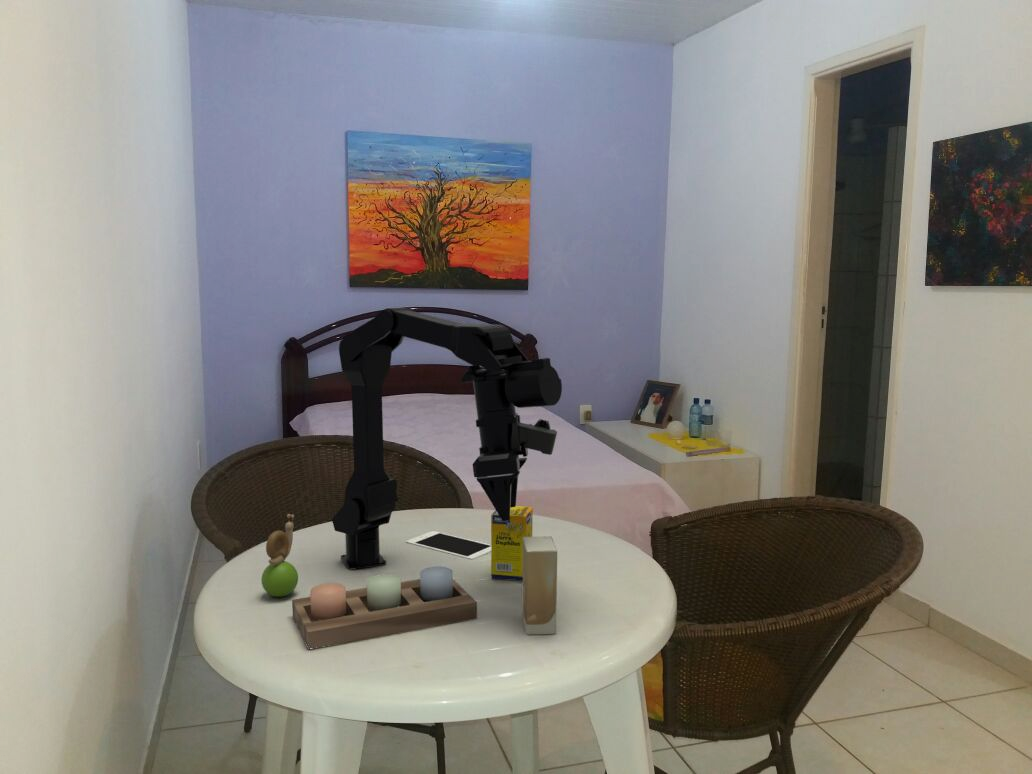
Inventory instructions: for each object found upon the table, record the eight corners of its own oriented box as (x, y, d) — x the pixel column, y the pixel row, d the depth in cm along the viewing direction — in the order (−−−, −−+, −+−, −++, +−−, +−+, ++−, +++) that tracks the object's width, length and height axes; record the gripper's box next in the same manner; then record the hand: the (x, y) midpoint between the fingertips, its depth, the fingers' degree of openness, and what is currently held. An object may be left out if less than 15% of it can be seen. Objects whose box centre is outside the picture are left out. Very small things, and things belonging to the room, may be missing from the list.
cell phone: (432, 533, 159) (432, 530, 159) (499, 550, 149) (499, 546, 149) (404, 544, 152) (404, 541, 152) (472, 562, 143) (472, 558, 143)
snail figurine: (309, 589, 130) (306, 515, 128) (285, 604, 124) (282, 527, 122) (279, 584, 131) (276, 512, 130) (254, 599, 125) (251, 523, 124)
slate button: (416, 591, 123) (415, 569, 123) (446, 586, 125) (446, 564, 125) (426, 603, 119) (426, 580, 118) (457, 597, 121) (457, 575, 120)
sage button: (363, 600, 120) (363, 577, 119) (395, 595, 122) (395, 572, 121) (372, 612, 116) (371, 588, 115) (405, 607, 118) (404, 583, 117)
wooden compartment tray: (292, 616, 119) (292, 599, 119) (448, 589, 129) (448, 574, 129) (308, 650, 109) (308, 632, 108) (477, 618, 119) (476, 601, 118)
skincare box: (521, 617, 119) (521, 535, 118) (551, 616, 120) (551, 534, 118) (525, 636, 113) (525, 550, 111) (557, 635, 113) (557, 549, 112)
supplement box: (526, 582, 133) (526, 516, 131) (490, 579, 134) (490, 514, 132) (533, 569, 139) (533, 506, 137) (498, 566, 140) (498, 504, 138)
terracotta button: (308, 609, 117) (307, 586, 116) (341, 604, 119) (341, 580, 118) (314, 622, 112) (314, 598, 112) (349, 616, 114) (349, 592, 114)
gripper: (546, 409, 112) (560, 522, 112) (553, 398, 130) (565, 495, 131) (465, 418, 113) (480, 530, 114) (483, 406, 131) (496, 503, 132)
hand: (509, 513), depth 122 cm, fingers open, 9 cm apart
